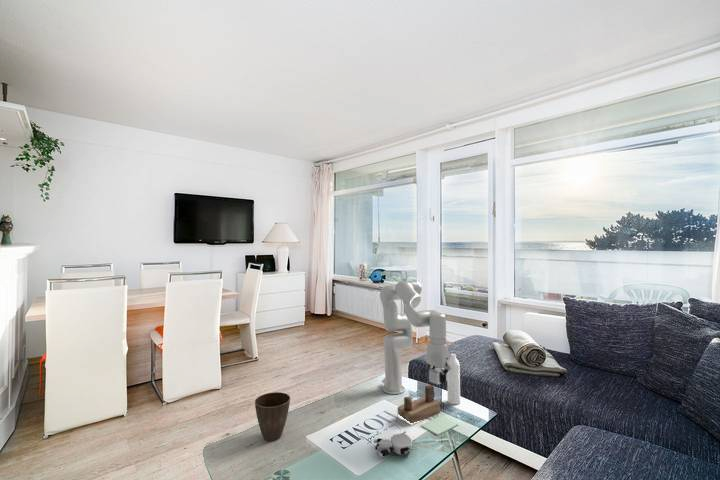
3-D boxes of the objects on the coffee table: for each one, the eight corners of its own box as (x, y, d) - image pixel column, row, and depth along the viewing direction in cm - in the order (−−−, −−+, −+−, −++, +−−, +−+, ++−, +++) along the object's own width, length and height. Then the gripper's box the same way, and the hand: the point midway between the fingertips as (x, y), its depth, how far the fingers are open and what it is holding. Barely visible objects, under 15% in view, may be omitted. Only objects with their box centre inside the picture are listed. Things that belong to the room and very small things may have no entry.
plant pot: (271, 424, 157) (271, 389, 158) (297, 432, 150) (297, 395, 151) (247, 440, 144) (247, 402, 144) (274, 450, 137) (274, 410, 137)
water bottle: (458, 399, 182) (458, 352, 182) (461, 404, 175) (460, 356, 176) (442, 399, 182) (441, 352, 183) (444, 404, 176) (443, 355, 176)
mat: (420, 426, 155) (420, 424, 155) (440, 416, 163) (440, 415, 163) (437, 435, 147) (437, 434, 147) (458, 425, 155) (458, 424, 155)
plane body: (397, 417, 162) (397, 392, 163) (426, 406, 174) (426, 382, 175) (411, 425, 155) (410, 398, 156) (440, 412, 167) (439, 388, 167)
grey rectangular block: (429, 381, 155) (428, 370, 156) (439, 377, 160) (439, 366, 160) (437, 384, 151) (437, 373, 152) (447, 380, 156) (447, 369, 156)
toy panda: (378, 464, 129) (416, 458, 131) (377, 452, 129) (415, 446, 131) (372, 446, 141) (407, 440, 143) (372, 435, 141) (406, 429, 143)
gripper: (418, 338, 161) (419, 377, 160) (447, 346, 147) (448, 388, 146) (429, 335, 165) (429, 373, 165) (458, 343, 151) (459, 384, 151)
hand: (438, 380), depth 155 cm, fingers closed on grey rectangular block, 5 cm apart
